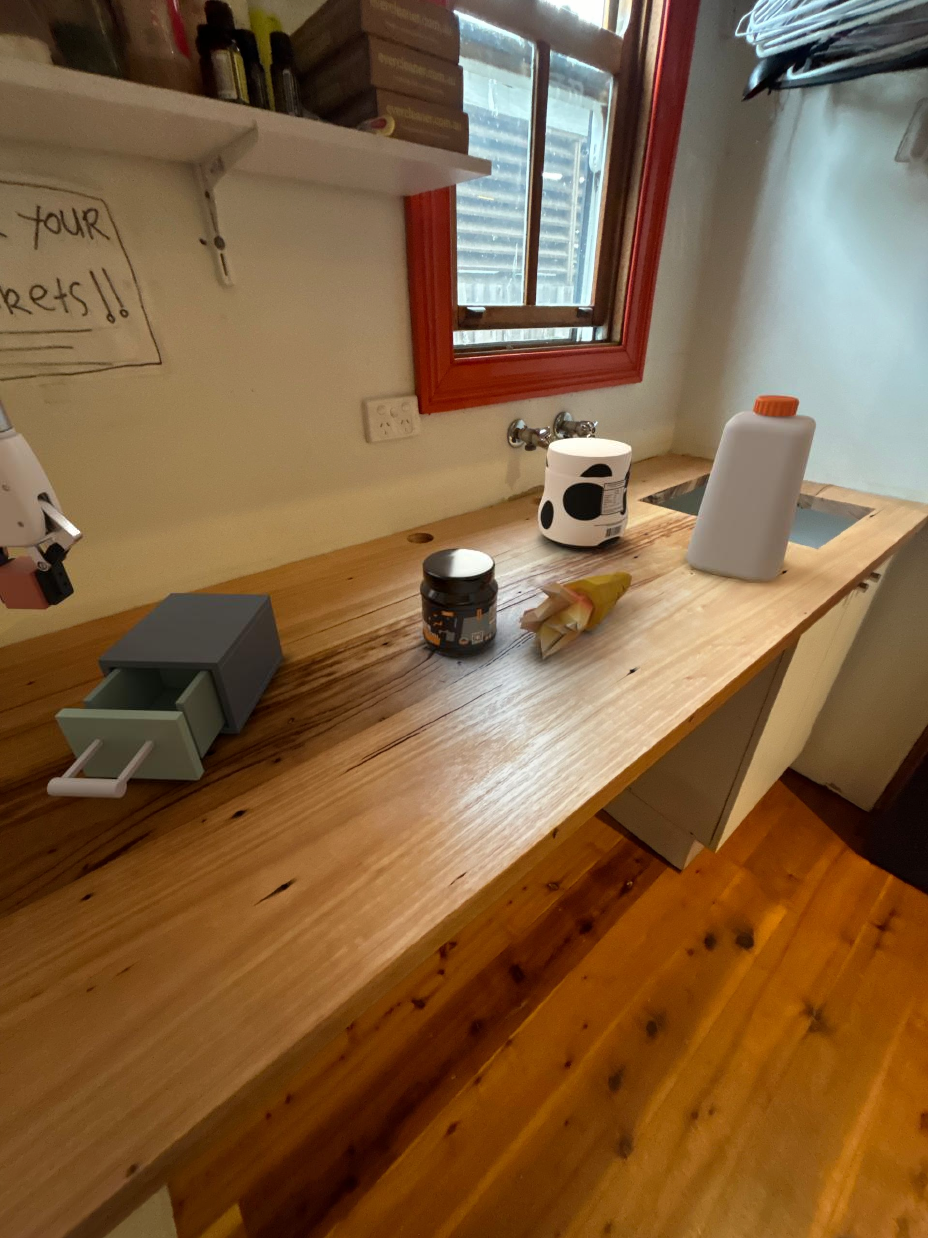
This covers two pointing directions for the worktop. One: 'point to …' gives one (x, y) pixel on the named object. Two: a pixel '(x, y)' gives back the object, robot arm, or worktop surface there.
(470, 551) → the supplement container
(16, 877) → the worktop surface
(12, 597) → the block
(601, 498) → the milk container
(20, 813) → the worktop surface
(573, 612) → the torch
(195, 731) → the drawer
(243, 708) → the cabinet
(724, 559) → the plastic bottle
